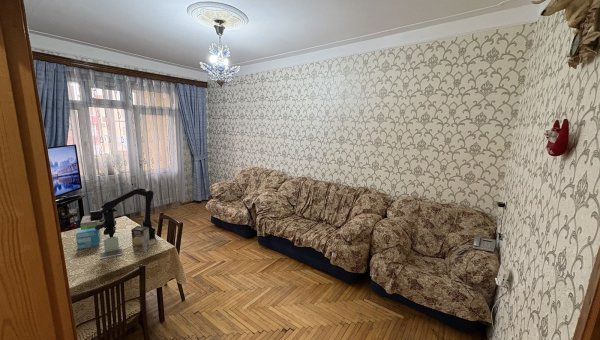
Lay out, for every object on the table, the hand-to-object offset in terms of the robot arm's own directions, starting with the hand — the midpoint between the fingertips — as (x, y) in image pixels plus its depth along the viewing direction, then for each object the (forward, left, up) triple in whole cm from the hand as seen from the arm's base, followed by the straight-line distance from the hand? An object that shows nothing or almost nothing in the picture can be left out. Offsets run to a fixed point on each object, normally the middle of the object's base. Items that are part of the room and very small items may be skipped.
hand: (111, 238), depth 180 cm
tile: (0, +3, -7) cm, 8 cm away
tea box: (+14, -26, -7) cm, 30 cm away
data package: (+14, -10, -7) cm, 19 cm away
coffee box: (-18, +11, -7) cm, 22 cm away
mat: (0, +10, -7) cm, 12 cm away
